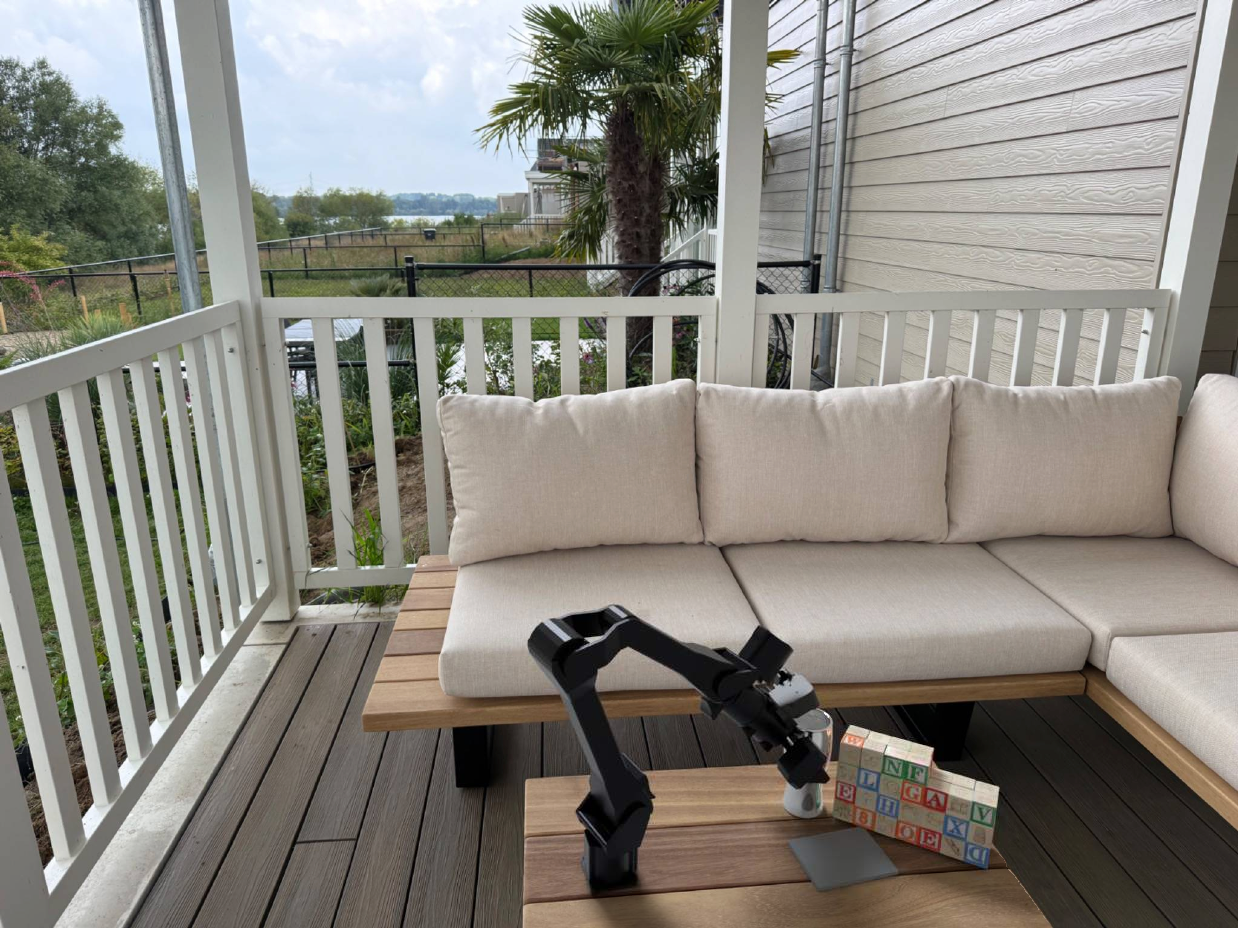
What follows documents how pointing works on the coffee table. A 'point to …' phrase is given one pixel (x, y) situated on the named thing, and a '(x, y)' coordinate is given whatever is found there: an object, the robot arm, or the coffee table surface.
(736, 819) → the coffee table surface
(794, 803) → the chrome tapered cup
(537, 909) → the coffee table surface
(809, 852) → the charcoal mat
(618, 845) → the robot arm
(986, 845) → the stack of blocks
